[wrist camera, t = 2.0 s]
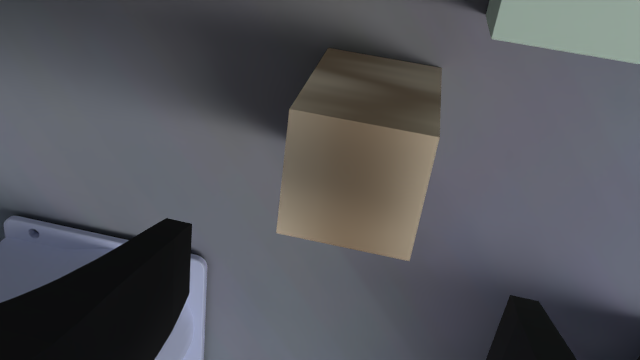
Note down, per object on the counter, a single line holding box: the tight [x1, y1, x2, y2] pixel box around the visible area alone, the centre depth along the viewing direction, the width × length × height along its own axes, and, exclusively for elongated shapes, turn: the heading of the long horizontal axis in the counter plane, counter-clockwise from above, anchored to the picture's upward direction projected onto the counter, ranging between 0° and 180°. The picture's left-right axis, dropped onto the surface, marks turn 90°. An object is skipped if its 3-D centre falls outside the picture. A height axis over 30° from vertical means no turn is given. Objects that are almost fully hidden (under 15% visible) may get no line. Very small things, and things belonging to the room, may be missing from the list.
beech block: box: [276, 48, 442, 261], centre depth 19 cm, size 4×4×6 cm
